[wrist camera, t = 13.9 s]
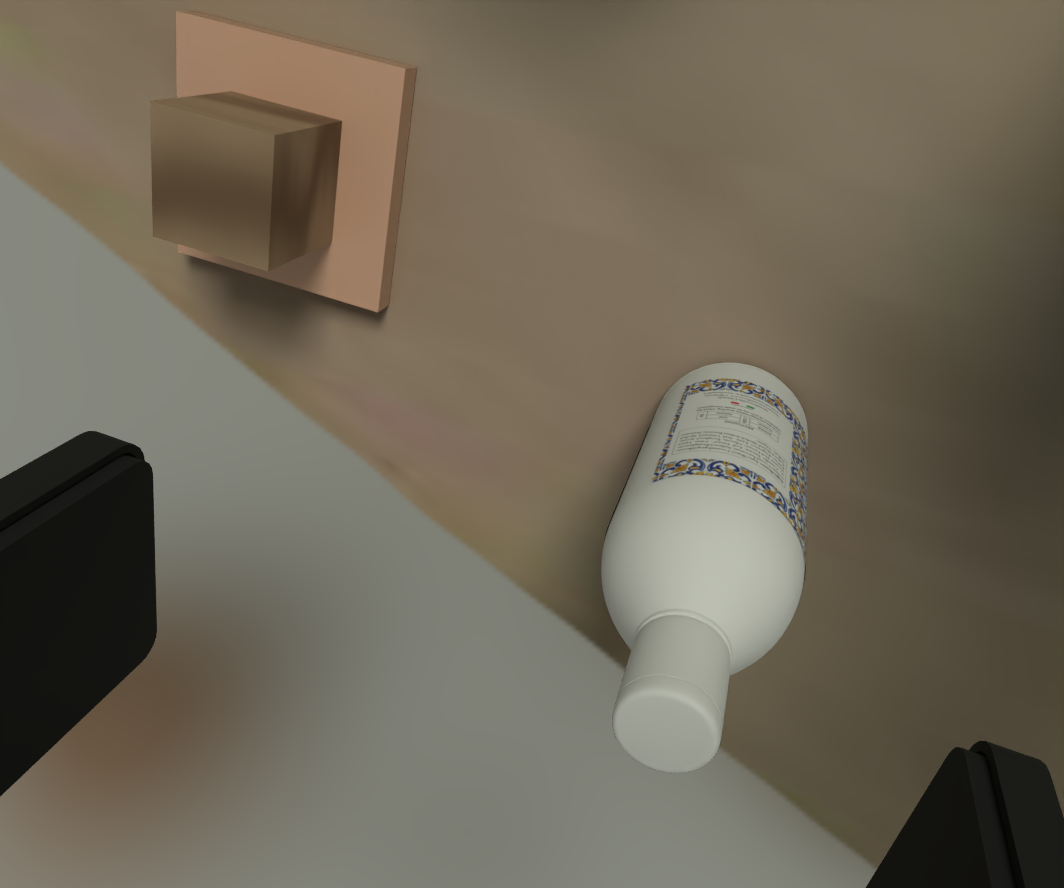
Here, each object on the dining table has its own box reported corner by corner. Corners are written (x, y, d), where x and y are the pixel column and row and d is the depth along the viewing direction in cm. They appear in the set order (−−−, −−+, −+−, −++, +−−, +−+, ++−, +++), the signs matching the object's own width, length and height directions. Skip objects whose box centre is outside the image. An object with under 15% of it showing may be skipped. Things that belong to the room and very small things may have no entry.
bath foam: (728, 520, 42) (666, 864, 25) (625, 424, 42) (490, 709, 24) (842, 434, 39) (860, 764, 22) (732, 327, 38) (661, 580, 21)
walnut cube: (231, 91, 39) (150, 101, 34) (342, 120, 38) (274, 135, 33) (228, 211, 42) (153, 236, 37) (332, 242, 41) (268, 271, 36)
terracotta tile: (193, 11, 39) (176, 10, 38) (416, 67, 37) (405, 68, 36) (192, 246, 44) (177, 251, 43) (388, 305, 43) (378, 312, 42)
